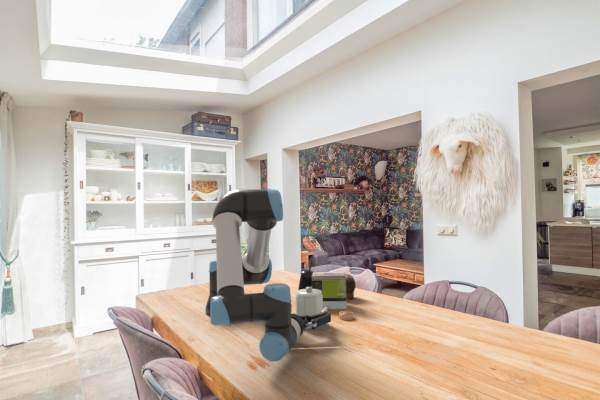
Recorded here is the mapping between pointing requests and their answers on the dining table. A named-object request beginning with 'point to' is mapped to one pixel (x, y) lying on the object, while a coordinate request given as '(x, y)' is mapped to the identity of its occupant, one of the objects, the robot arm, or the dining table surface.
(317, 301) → the ribbed plastic canister
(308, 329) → the plate
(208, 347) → the dining table surface
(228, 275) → the robot arm
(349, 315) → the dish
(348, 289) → the shell
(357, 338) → the dining table surface
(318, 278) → the tea box
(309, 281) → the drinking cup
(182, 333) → the dining table surface
